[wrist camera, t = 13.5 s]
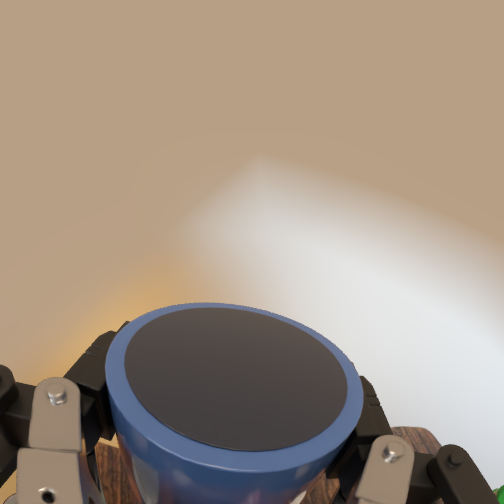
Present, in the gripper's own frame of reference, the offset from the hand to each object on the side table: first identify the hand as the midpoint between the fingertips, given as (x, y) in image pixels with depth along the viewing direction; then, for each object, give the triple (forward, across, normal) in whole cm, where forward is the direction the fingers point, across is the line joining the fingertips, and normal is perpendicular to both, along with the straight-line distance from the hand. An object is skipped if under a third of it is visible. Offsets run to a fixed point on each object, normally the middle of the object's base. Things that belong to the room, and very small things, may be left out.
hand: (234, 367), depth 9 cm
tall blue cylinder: (-2, 0, +12) cm, 12 cm away
